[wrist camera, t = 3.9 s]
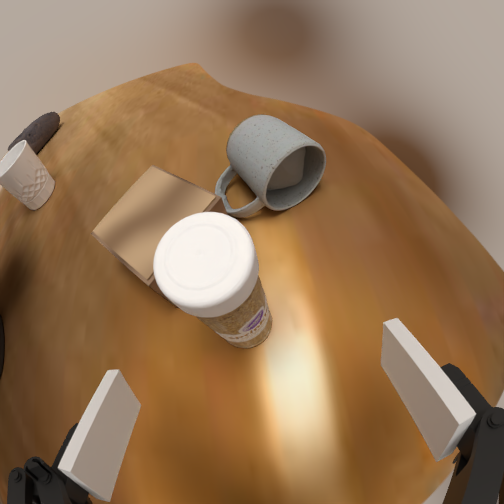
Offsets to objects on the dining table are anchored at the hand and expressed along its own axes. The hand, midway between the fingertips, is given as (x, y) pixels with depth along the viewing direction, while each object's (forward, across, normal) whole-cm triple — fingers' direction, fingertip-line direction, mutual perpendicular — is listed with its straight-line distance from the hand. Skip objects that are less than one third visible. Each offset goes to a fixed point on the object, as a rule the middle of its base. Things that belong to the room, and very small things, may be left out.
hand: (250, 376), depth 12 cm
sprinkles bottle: (+11, -1, -4) cm, 12 cm away
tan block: (+17, -7, +3) cm, 19 cm away
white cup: (+29, -33, +15) cm, 46 cm away
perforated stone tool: (+42, -42, +28) cm, 65 cm away
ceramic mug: (+21, +4, +6) cm, 22 cm away
